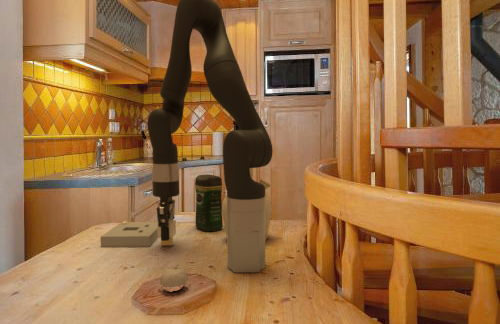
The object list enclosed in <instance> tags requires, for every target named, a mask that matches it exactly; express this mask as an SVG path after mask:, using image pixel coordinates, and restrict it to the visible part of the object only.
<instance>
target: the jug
mask: <svg viewBox="0 0 500 324" xmlns="http://www.w3.org/2000/svg"><path fill="white" fill-rule="evenodd" d="M250 175H251V178H252V179H253V176H254V168H250ZM258 183H261V184H263V185H264V186H265V241H267V238H268V234H269V228H270V224H271V219H272V211H273V209H272V208H273V207H272V201H271V198H270V196H269V195H268V193H267V192H266V190H267V189H268V188H269V187H271V184H270V183H269V182H267V180H264V179H263V178H260V179H259V182H258ZM225 190H226V191H227V189H226V188H225ZM222 221H223V226H224V230H225V233H226V235H227V194H226V195H225V197H224V199H223V201H222Z"/></svg>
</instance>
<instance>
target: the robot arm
mask: <svg viewBox="0 0 500 324" xmlns="http://www.w3.org/2000/svg"><path fill="white" fill-rule="evenodd" d="M173 23H174V24H173V32H172V38H171V47H170V54H169V59H168V62H167V63H168V64H167V68H166V72H165V74H164V78H163V81H162V84H161V89H160V92H159V93H160V96H161V98H162V99H163V101H162V108H155V109H153V110H152V111H151V112H150V113H149V115H148V118H147V132H148V136H149V141H150V144H151V148H152V169H151V178H152V179H151V180H152V181H151V182H152V183H151V184H152V187H151V188H152V196H153V197H155V198H159V202H158V204H157V207H156V214H157V222H158V226H159V227H160V228H161V238H160V241H161V240H162V241H168V240H169V226H170V224H169V221H170V220H175V207H176V206H175V204H176V200H175V199H173V197H177V196H179V195H180V169H179V156H178V154H179V152H178V151H179V150H178V146H177V144H176V143H175V142H173V135H172V134H174V133H176V132H177V131H179V128H180V127H181V125H182V123H183V117H184V109H185V108H184V107H185V98H186V97H187V93H188V90H189V86H190V84H191V80H192V73H193V72H192V71H193V70H192V69H193V68H192V61H191V52H190V50H191V49H190V48H191V47H190V42H191V36H192V34H193V33H192V32H193V30H195V31H197V32H198V33H199V34H200V35H201V37H202V40H203V42H204V46H205V49H206V54H205V58H204V61H203V74H204V77H205V81H206V84H207V86H208V89H209V92H210V94H211V95H212V97H213V98H214V100H215V101H216V102H217V103H218V104H219V105H220V106H221V107H222V108H223V109H224V110H225V111H226V112H227V113H228V114H229V115H230V117H232V119H233V120H234V123H236V125H237V126H238V129H233V130H231V131H229V132H227V134H226V135H225V138H224V140H223V144H222V164H223V178H224V179H223V180H224V185H225V190H226V189H227V190H226V195H227V234H226V238H227V239H226V240H227V246H226V247H227V268H228V269H229V270H231V271H232V272H233V273H260V271H261V270H263V269H265V267H266V240H265V192H266V190H265V186H264V185H263V184H261V183H259V182H258V181H256V180H254V178H253V177H252V178H251V175H250V168H253V169H257V168H263V167H266V166H268V164H270V163H271V161H272V159H273V152H274V151H273V144H272V140H271V137H270V135H269V133H268V131H267V129H266V127H265V125H264V123H263V121H262V120H261V117H260V116H259V113H258V111H257V109H256V107H255V105H254V102H253V100H252V98H251V95H250V92H249V90H248V88H247V85H246V82H245V79H244V76H243V73H242V71H241V68H240V65H239V63H238V61H237V58H236V56H235V53H234V50H233V48H232V44H231V42H230V40H229V36H228V32H227V30H226V25H225V21H224V17H223V14H222V10H221V8H220V6H219V5H218V3H217V2H216V1H215V0H178V3H177V7H176V11H175V16H174V22H173ZM163 220H165V222H163Z"/></svg>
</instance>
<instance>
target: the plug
mask: <svg viewBox="0 0 500 324" xmlns="http://www.w3.org/2000/svg"><path fill="white" fill-rule="evenodd" d="M176 220H177V219H173V220H170V221H169V224H170V226H169V240H168V241H162V240H161V228H160V227H159V226H158V224H157V231H158V238H160V245H161V246H172V245H173V244H174V238H175V235H176V234H177V225H176V223H177V222H176ZM163 222H165V220H163ZM158 238H157V239H158Z"/></svg>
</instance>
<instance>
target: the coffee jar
mask: <svg viewBox="0 0 500 324" xmlns="http://www.w3.org/2000/svg"><path fill="white" fill-rule="evenodd" d="M222 180H223V179H222V177H220V176H219V175H213V174H208V173H207V174H206V173H205V174H198V175H197V176H196V178H195V181H194V189H195V228H196V229H197V230H198V229H199V230H201V231H204V232H209V231H211V232H216V231H219V230H221V229H222V228H223V226H224V221H223V214H222V204H223V201H222V190H223V181H222Z"/></svg>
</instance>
